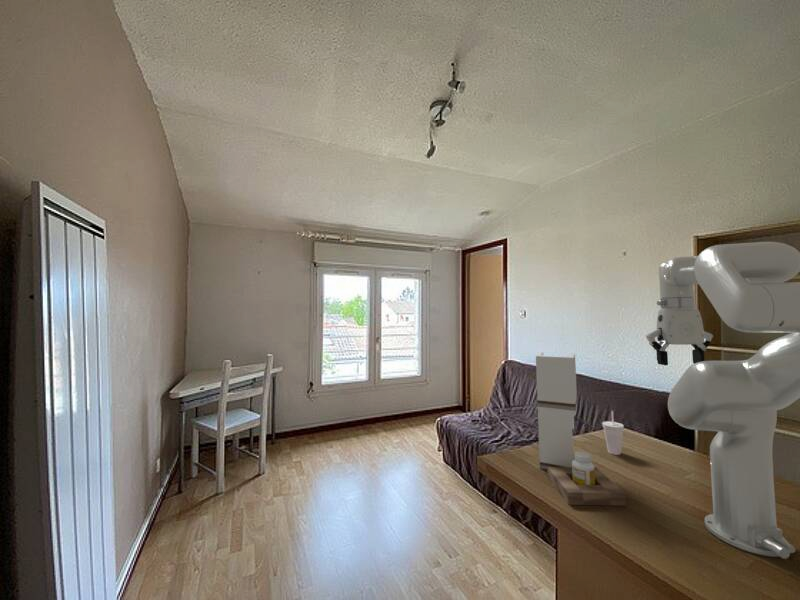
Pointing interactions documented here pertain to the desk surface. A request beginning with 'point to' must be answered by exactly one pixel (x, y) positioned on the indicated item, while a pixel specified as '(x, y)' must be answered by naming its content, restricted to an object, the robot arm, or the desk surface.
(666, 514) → the desk surface
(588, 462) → the supplement bottle
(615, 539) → the desk surface
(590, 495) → the socket block
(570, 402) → the tall seamed white column
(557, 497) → the desk surface
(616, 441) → the smoothie
